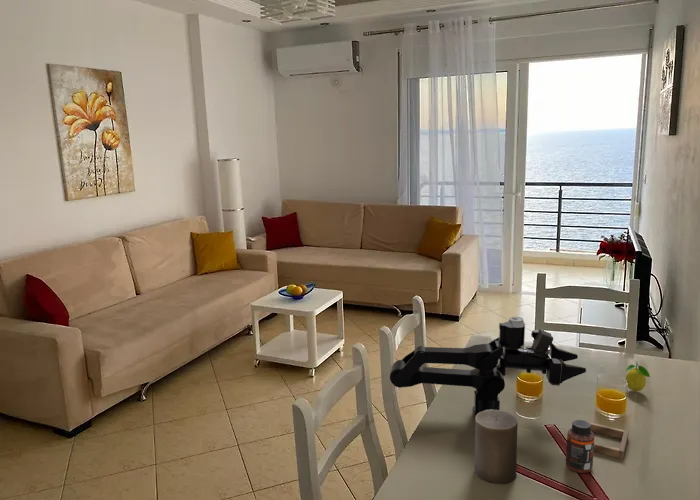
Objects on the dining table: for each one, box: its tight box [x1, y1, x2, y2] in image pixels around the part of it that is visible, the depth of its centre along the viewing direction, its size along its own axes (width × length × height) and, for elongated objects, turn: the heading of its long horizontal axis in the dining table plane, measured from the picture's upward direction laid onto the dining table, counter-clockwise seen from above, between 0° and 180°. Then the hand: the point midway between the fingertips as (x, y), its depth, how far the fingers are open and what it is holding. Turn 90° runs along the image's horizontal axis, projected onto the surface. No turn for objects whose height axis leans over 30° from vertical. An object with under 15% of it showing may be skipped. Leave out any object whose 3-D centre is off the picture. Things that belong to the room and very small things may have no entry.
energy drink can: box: [507, 316, 526, 349], centre depth 192 cm, size 6×6×15 cm
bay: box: [588, 421, 629, 460], centre depth 139 cm, size 10×11×2 cm
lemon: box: [625, 361, 651, 393], centre depth 165 cm, size 7×6×10 cm
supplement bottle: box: [565, 419, 595, 474], centre depth 128 cm, size 6×6×11 cm
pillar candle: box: [474, 409, 518, 485], centre depth 127 cm, size 10×10×15 cm
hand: (581, 363), depth 148 cm, fingers open, 9 cm apart
